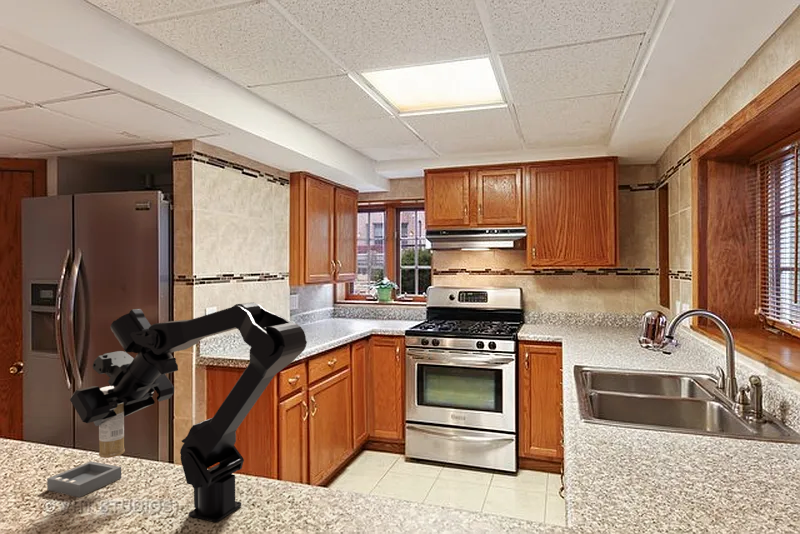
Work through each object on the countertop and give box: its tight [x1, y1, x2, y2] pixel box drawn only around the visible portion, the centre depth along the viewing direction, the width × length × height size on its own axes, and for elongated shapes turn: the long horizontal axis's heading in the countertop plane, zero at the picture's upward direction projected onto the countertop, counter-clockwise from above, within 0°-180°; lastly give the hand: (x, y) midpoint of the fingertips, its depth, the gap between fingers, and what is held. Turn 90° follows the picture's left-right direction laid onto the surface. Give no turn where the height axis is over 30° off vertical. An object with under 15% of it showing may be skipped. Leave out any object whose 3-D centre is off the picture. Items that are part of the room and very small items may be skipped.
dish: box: [46, 460, 122, 498], centre depth 99 cm, size 9×9×2 cm
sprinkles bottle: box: [98, 385, 126, 459], centre depth 98 cm, size 5×5×14 cm
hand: (106, 420), depth 98 cm, fingers closed on sprinkles bottle, 4 cm apart
